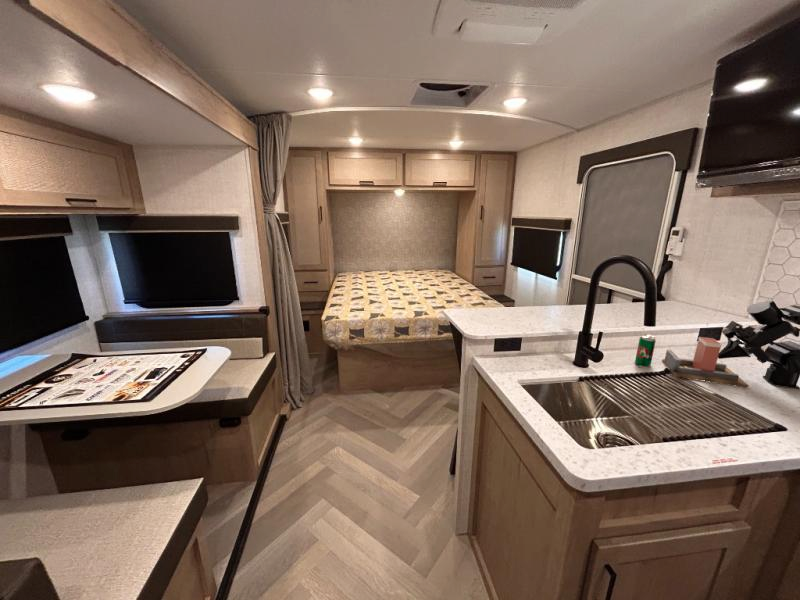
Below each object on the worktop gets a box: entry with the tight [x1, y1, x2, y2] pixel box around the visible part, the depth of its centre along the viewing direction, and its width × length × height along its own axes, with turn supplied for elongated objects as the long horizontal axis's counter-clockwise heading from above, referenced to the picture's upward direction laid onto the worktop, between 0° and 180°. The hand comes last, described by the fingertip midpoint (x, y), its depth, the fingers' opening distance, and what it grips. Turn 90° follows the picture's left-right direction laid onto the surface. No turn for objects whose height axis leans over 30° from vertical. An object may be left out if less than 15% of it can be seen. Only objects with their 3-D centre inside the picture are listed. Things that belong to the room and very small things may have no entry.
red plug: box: [692, 336, 722, 371], centre depth 116 cm, size 4×6×12 cm
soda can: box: [634, 334, 657, 367], centre depth 124 cm, size 5×5×12 cm
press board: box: [661, 358, 749, 388], centre depth 118 cm, size 20×14×1 cm
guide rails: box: [664, 349, 740, 381], centre depth 117 cm, size 18×10×5 cm, turn 67°
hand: (717, 357), depth 115 cm, fingers closed
